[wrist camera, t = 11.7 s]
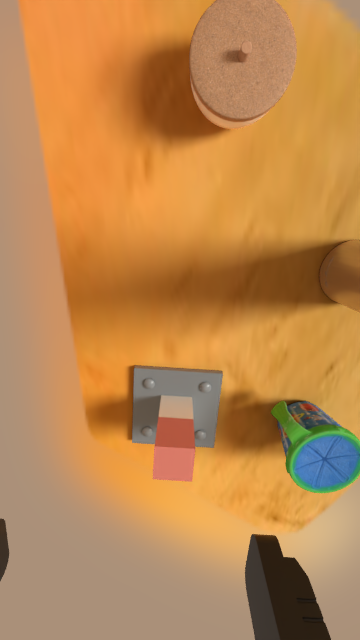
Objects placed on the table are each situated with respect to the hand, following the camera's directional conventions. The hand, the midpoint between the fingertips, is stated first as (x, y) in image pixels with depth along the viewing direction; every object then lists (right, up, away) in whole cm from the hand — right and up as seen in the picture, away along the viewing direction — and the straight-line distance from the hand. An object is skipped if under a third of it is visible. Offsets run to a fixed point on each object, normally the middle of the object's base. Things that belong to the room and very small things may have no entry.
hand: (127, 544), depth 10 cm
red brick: (+1, -9, +33) cm, 34 cm away
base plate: (+1, -7, +40) cm, 40 cm away
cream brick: (+1, -7, +39) cm, 39 cm away
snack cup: (+22, -9, +40) cm, 47 cm away
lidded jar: (+8, +36, +27) cm, 46 cm away
